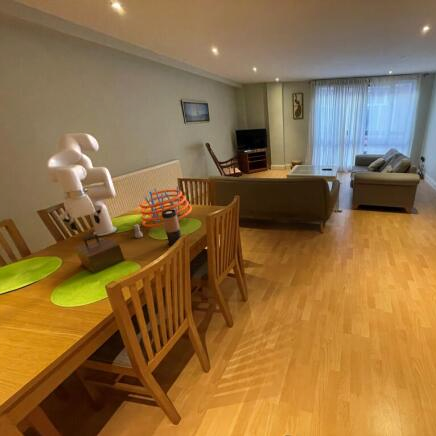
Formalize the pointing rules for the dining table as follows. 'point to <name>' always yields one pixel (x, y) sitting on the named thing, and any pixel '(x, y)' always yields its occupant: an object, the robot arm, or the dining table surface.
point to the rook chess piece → (137, 231)
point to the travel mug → (171, 225)
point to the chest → (102, 259)
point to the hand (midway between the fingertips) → (86, 226)
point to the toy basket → (161, 203)
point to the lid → (96, 246)
